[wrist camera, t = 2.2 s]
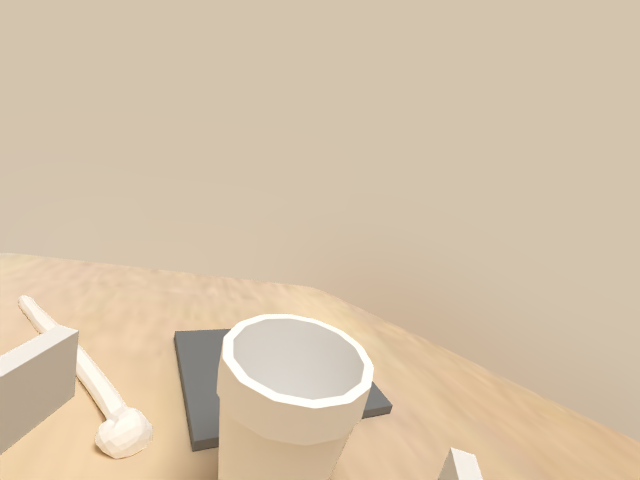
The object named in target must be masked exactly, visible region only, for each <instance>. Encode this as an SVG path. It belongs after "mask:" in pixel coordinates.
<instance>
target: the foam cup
mask: <svg viewBox="0 0 640 480" xmlns="http://www.w3.org/2000/svg"><path fill="white" fill-rule="evenodd" d="M373 370H374V366H373V364H372V363H371V361H370V359H369V357H368V355H367V354H366V352H365V350H364V348H363V347H362V346H361V345H359V344H358V343H357V342H356V341H354V340H353V339H352V338H351V337H349V336H348V335H347V334H346V333H344V332H343V331H341V330H339V329H337V328H334V327H332V326H330V325H328V324H325V323H323V322H321V321H319V320H315V319H310V318H305V317H301V316H296V315H291V314H277V315H260V316H257V317H254V318H251V319H248V320H244V321H241V322H239V323H237V324H236V325H235V326H234V327H233V328H232V329H231V330H230V331H229V332H228V333H227V334H226V335H225V336H224V338H223V344H222V350H221V356H220V362H219V368H218V379H217V395H218V396H219V398H220V415H219V462H218V480H328V479H329V477H330V475H331V473H332V471H333V469H334V467H335V465H336V463H337V461H338V459H339V457H340V455H341V452H342V450H343V448H344V446H345V444H346V442H347V440H348V438H349V436H350V434H351V432H352V430H353V428H354V426H355V425H356V424H357V423H358V422H360V421H361V418H362V415H363V412H364V408H365V405H366V402H367V398H368V395H369V392H370V389H371V383H372V377H373Z"/></svg>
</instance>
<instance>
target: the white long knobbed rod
mask: <svg viewBox="0 0 640 480" xmlns="http://www.w3.org/2000/svg"><path fill="white" fill-rule="evenodd" d="M18 306H19V307H20V308H21V310H22V311H23V312H24V313H25V315H26V316H27V317H28V318H29V320H30V321H31V323H32V325H33V326H34V328H35V329H36V330H37V331H38V332H39V333H40V334H43V333H44V332H46V331H48V330H50V329H52V328H54V327H56V326H57V325H58V324H57V323H56V322H55V321H54V320H53V319H52V318H51V317H50V316H49V315H48V314H47V313H46V312H45V311H44V310H42V309H41V308H40V307H39V306H38V305H37V304H36V302H35V301H34V299H33V298H31V297H29V296H27V295H23V296H20V297H19V304H18ZM76 376H77V377H78V379H79V380H80V381H81V382H82V384H83V385H84V386H85V388H86V389H87V390H88V392H89V393H90V395H91V396H92V398H93V399H94V401H95V402H96V404H97V405H98V407H99V408H100V410H101V411H102V412H103V414H104V415H105V417H106V419H107V420H106V421H105V422H104V423H102V424H101V425H100V427H99V428H98V431H97V434H96V437H95V443H96V445H97V446H98V447H99V448H100V449H101V450H102V452H104V453H106V454H107V455H109V456H111V457H113V458H114V459H119V458H123V457H130V456H132V455H134V454H136V453H138V452H139V451H141V450H143V449H144V448H146V447H147V446H148V445H149V444H150V442H151V441H152V425H151V424H150V422H149V421H148V420H147V419H146V418H145V417H144V416H143V414H142V413H141V412H140V411H139V410H137V409H135V408H132V407H127V406H126V404H125V403H124V401H123V399H122V398H121V396H120V395H119V393H118V392H117V390H116V389H115V388H114V387H113V385H112V384H111V383H110V381H109V380H108V379H107V378H106V376H105V375H104V374H103V373H102V371H101V370H100V369H99V368H98V366H97V365H96V364H95V363H94V362H93V360H92V359H91V358H90V357H89V355H88V354H87V353H86V352H85V351H84V349H83V348H82V347H81V346H80V345H79V344H78V349H77V363H76Z"/></svg>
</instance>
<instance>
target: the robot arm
mask: <svg viewBox="0 0 640 480" xmlns="http://www.w3.org/2000/svg"><path fill="white" fill-rule="evenodd" d="M78 334H79V331H78V330H75V329H72V328H68V327H65V326H62V325H57V326H56V327H54V328H52V329H50V330H48V331H46V332H44V333H43V334H41V335H39V336H37V337H35V338H33V339H31V340H29V341H28V342H26V343H24V344H22V345H20V346H18V347H16V348H15V349H13V350H11V351H9V352H7V353H5V354H3V355H1V356H0V455H1V454H2V453H3V452H5V451H6V450H7V449H8V448H10V447H11V446H12V445H13V444H15V443H16V442H17V441H18V440H20V439H21V438H22V437H23V436H25V435H26V434H27V433H28V432H30V431H31V430H32V429H33V428H35V427H36V426H37V425H38V424H40V423H41V422H42V421H43V420H45V419H46V418H47V417H48V416H50V415H51V414H52V413H54V412H55V411H56V410H57V409H59V408H60V407H61V406H62V405H64V404H65V403H66V402H67V401H69V400H70V399H71V398H72V397H74V393H75V378H76V363H77V349H78ZM438 480H483V478H482V475H481V472H480V469H479V466H478V463H477V460H476V457H475V455H473V454H470V453H467V452H464V451H461V450H457V449H454V448H450V451H449V453H448V456H447V458H446V461H445V463H444V466H443V468H442V471H441V473H440V475H439V478H438Z"/></svg>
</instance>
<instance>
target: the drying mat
mask: <svg viewBox="0 0 640 480" xmlns="http://www.w3.org/2000/svg"><path fill="white" fill-rule="evenodd" d="M230 330H231V329H220V330H197V331H175V336H174V341H175V347H176V353H177V359H178V365H179V371H180V378H181V384H182V390H183V396H184V402H185V408H186V414H187V420H188V426H189V432H190V438H191V444H192V450H193V451H197V450H203V449H208V448H213V447H218V446H219V415H220V398H219V396H218V395H217V379H218V368H219V362H220V356H221V350H222V344H223V338H224V336H225V335H226V334H227V333H228V332H229V331H230ZM391 408H392V404H391V403H390V402H389V401H388V399H387V398H386V397H385V396H384V395H383V393H382V392H381V391H380V390H379V389H378V387H377V386H376V385H375V384H374V383H373V381H372V383H371V389H370V392H369V395H368V398H367V402H366V405H365V408H364V412H363V415H362V418H367V417H373V416H378V415H383V414H388V413H390V411H391ZM362 418H361V419H362Z"/></svg>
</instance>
